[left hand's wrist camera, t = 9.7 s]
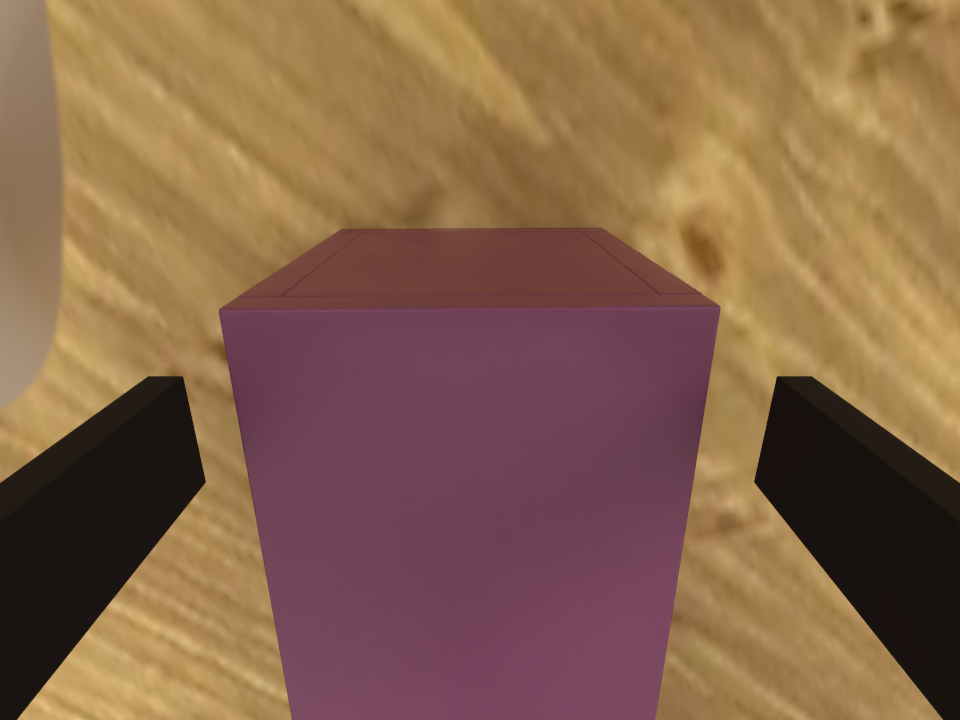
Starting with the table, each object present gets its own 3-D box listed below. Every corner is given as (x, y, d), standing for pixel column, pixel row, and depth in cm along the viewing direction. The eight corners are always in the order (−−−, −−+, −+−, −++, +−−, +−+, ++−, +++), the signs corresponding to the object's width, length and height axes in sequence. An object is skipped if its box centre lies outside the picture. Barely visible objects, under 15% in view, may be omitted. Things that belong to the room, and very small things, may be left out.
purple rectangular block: (574, 595, 30) (634, 859, 19) (374, 597, 30) (316, 864, 19) (602, 227, 23) (722, 305, 12) (340, 229, 23) (216, 309, 12)
